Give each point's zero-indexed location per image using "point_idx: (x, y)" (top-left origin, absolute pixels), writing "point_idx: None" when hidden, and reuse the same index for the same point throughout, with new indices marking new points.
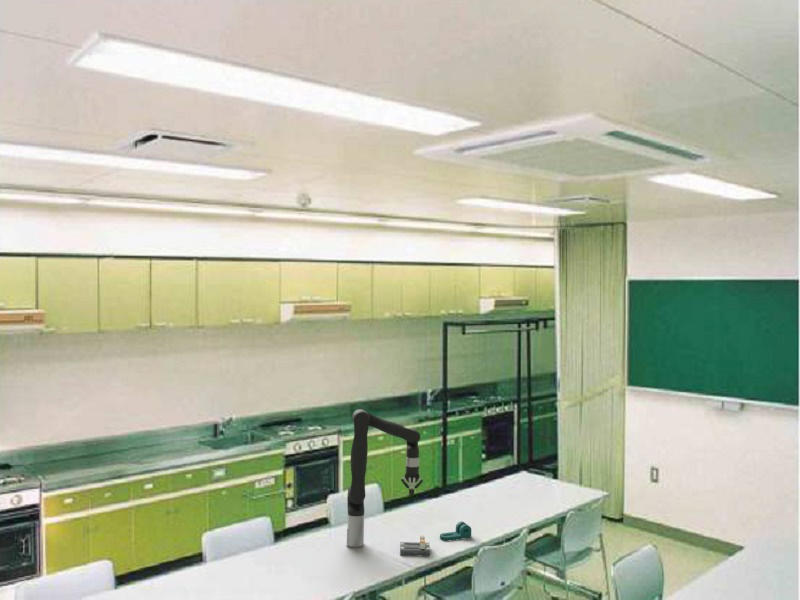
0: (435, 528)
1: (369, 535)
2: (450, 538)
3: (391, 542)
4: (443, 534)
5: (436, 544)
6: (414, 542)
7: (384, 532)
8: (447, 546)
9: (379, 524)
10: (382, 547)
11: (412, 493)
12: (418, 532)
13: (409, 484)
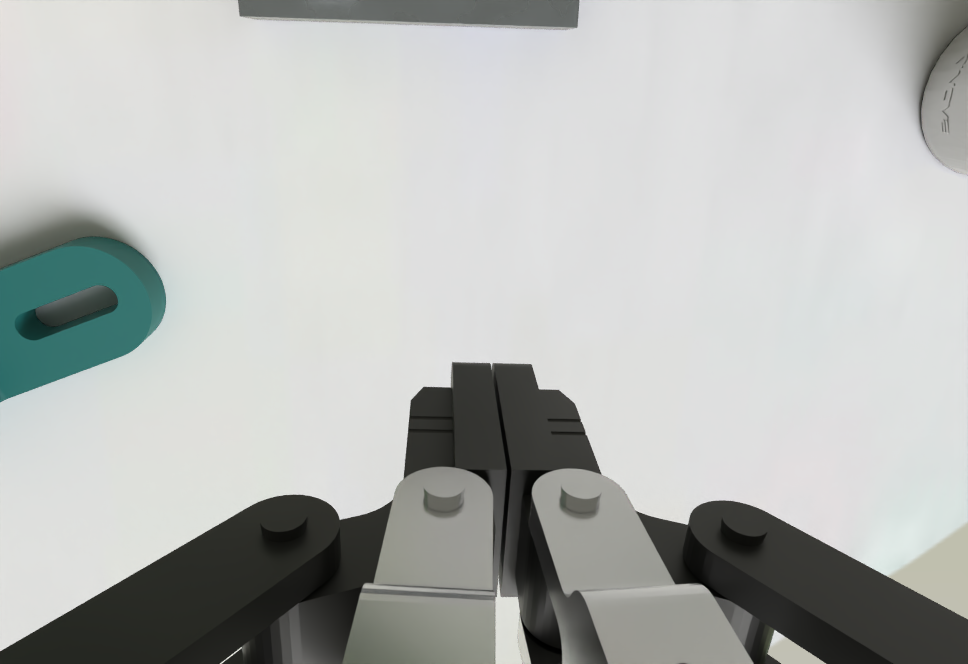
0: (228, 516)
1: (819, 328)
2: (39, 254)
3: (641, 168)
4: (116, 321)
5: (185, 134)
6: (415, 20)
7: (677, 403)
8: (58, 81)
9: None
10: (748, 24)
11: (465, 387)
12: (376, 422)
13: (687, 603)
